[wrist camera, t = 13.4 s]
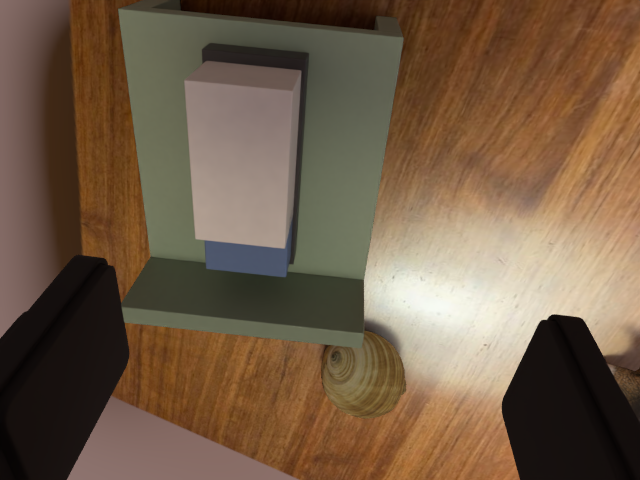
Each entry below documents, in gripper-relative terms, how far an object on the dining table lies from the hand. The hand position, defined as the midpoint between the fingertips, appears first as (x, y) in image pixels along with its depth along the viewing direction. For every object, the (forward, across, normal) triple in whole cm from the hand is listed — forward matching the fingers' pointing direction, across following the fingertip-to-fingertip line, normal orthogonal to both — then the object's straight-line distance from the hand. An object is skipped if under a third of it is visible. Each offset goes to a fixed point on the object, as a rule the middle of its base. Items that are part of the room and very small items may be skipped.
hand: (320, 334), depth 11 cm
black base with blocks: (+17, +4, +4) cm, 18 cm away
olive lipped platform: (+23, +4, +5) cm, 24 cm away
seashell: (+23, -5, +25) cm, 34 cm away
